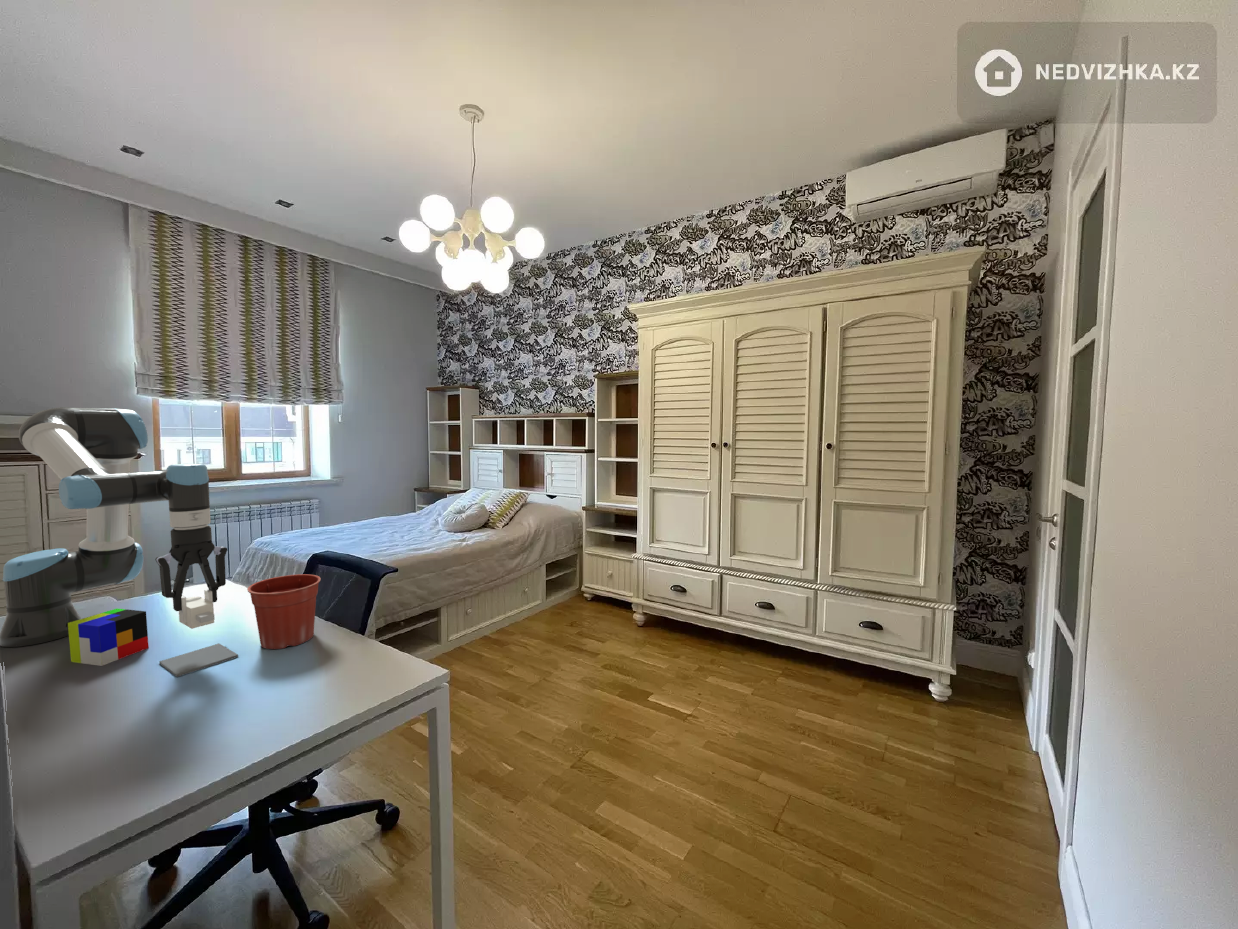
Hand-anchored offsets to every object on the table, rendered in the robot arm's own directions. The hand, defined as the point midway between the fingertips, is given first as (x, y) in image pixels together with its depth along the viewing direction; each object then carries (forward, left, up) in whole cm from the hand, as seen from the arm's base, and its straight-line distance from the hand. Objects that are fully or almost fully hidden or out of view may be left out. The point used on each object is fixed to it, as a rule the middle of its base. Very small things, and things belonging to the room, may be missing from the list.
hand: (196, 618), depth 121 cm
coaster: (0, 0, -11) cm, 11 cm away
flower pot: (+6, +18, -11) cm, 21 cm away
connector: (0, 0, -1) cm, 1 cm away
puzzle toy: (-23, -11, -11) cm, 28 cm away
